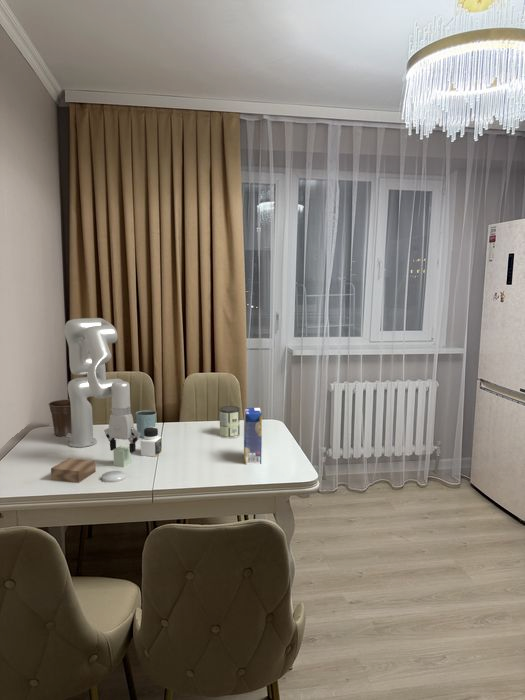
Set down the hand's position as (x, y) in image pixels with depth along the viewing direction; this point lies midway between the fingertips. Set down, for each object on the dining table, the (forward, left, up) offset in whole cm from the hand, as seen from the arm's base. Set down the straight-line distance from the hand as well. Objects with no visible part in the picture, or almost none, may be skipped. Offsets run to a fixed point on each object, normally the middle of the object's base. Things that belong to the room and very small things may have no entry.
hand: (122, 450), depth 216 cm
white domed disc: (+5, -14, -6) cm, 16 cm away
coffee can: (+24, +55, -6) cm, 61 cm away
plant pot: (-53, +26, -6) cm, 59 cm away
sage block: (-1, 0, -6) cm, 6 cm away
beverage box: (+48, +26, -6) cm, 55 cm away
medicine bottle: (+3, +16, -6) cm, 18 cm away
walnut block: (-11, -18, -6) cm, 22 cm away
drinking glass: (-14, +38, -6) cm, 41 cm away
